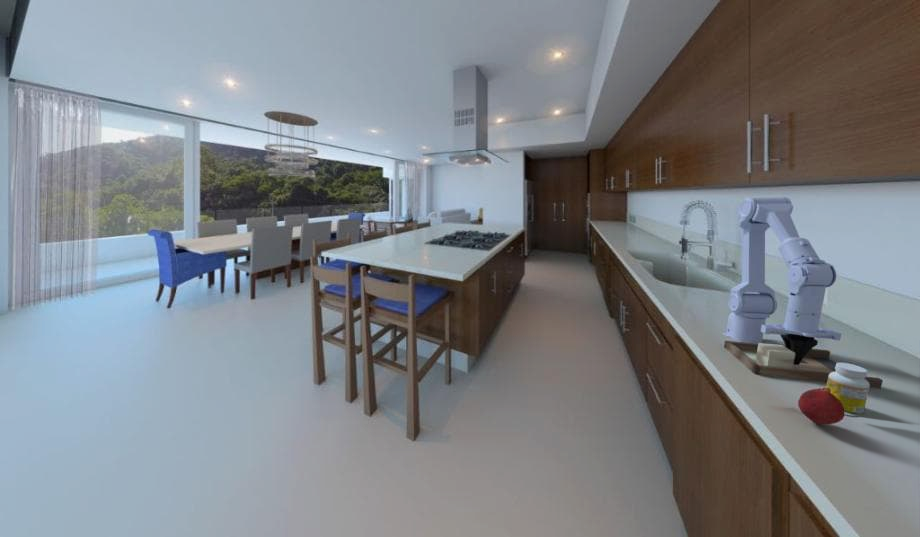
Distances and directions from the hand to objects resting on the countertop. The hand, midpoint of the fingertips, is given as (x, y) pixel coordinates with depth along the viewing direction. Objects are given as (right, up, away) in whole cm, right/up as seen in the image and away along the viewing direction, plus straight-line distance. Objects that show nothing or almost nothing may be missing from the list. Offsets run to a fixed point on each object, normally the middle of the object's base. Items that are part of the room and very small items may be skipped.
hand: (793, 362), depth 80 cm
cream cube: (-4, -1, +1) cm, 4 cm away
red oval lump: (-15, -6, -19) cm, 25 cm away
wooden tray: (+1, -2, +2) cm, 3 cm away
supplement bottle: (-6, -6, -15) cm, 17 cm away
